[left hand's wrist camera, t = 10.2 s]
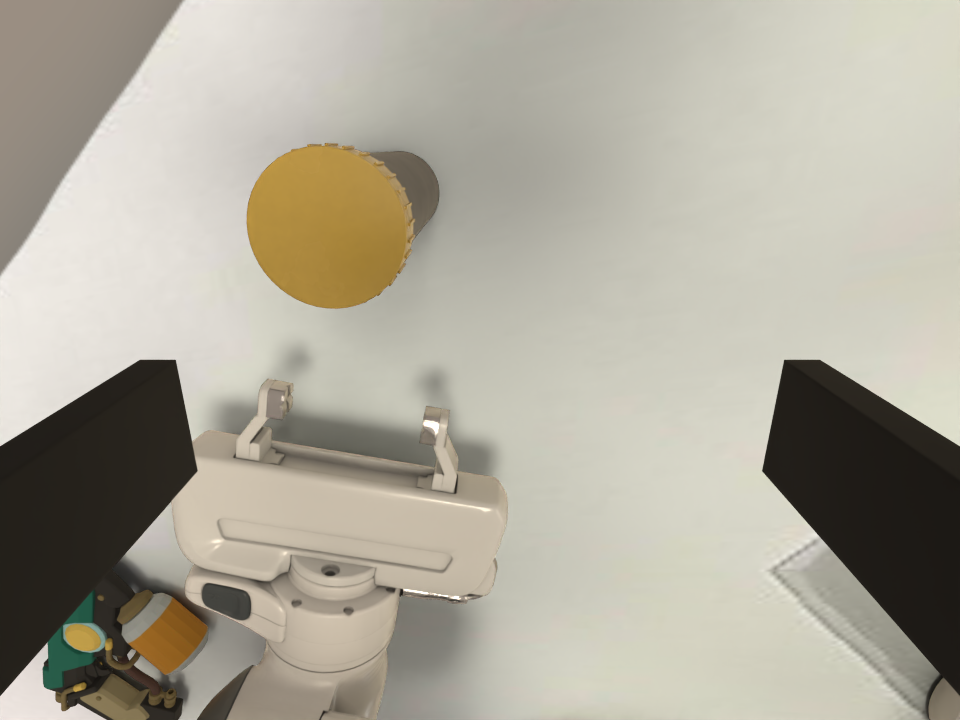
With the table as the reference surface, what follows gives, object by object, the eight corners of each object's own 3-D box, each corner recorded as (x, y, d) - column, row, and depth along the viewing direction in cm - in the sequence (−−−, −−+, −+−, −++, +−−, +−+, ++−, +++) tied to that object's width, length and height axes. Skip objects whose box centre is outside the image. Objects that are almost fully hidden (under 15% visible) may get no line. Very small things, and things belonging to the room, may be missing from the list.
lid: (233, 213, 21) (209, 219, 19) (342, 108, 19) (327, 104, 17) (339, 325, 22) (326, 341, 20) (446, 234, 21) (442, 242, 19)
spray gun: (177, 719, 52) (21, 648, 50) (245, 609, 46) (70, 523, 44) (149, 767, 49) (-22, 693, 46) (219, 654, 42) (26, 562, 40)
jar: (346, 186, 35) (230, 219, 19) (403, 134, 34) (330, 122, 18) (398, 246, 36) (329, 324, 20) (454, 197, 35) (428, 239, 19)
